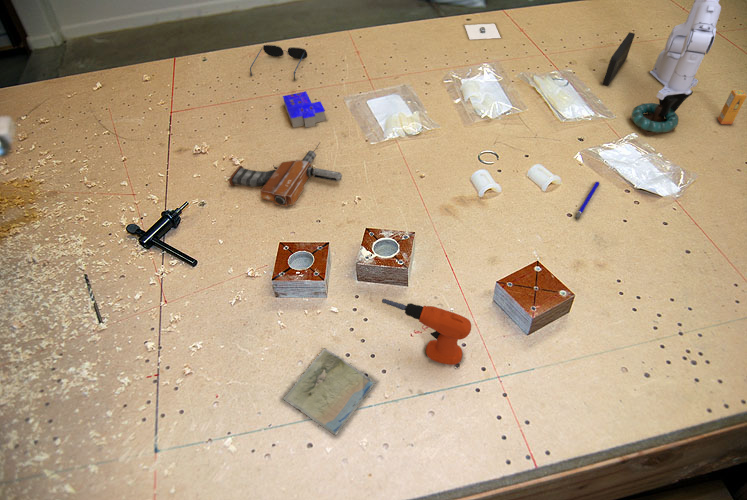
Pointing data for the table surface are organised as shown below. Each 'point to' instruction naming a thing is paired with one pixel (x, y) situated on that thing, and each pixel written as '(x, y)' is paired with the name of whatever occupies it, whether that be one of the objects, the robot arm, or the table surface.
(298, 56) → the sunglasses
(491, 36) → the white square panel
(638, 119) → the ring
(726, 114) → the supplement box
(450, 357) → the toy drill
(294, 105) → the blue grey stepped block
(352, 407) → the topographic map
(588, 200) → the pencil
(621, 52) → the nameplate
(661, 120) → the stand
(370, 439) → the table surface
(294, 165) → the tool
